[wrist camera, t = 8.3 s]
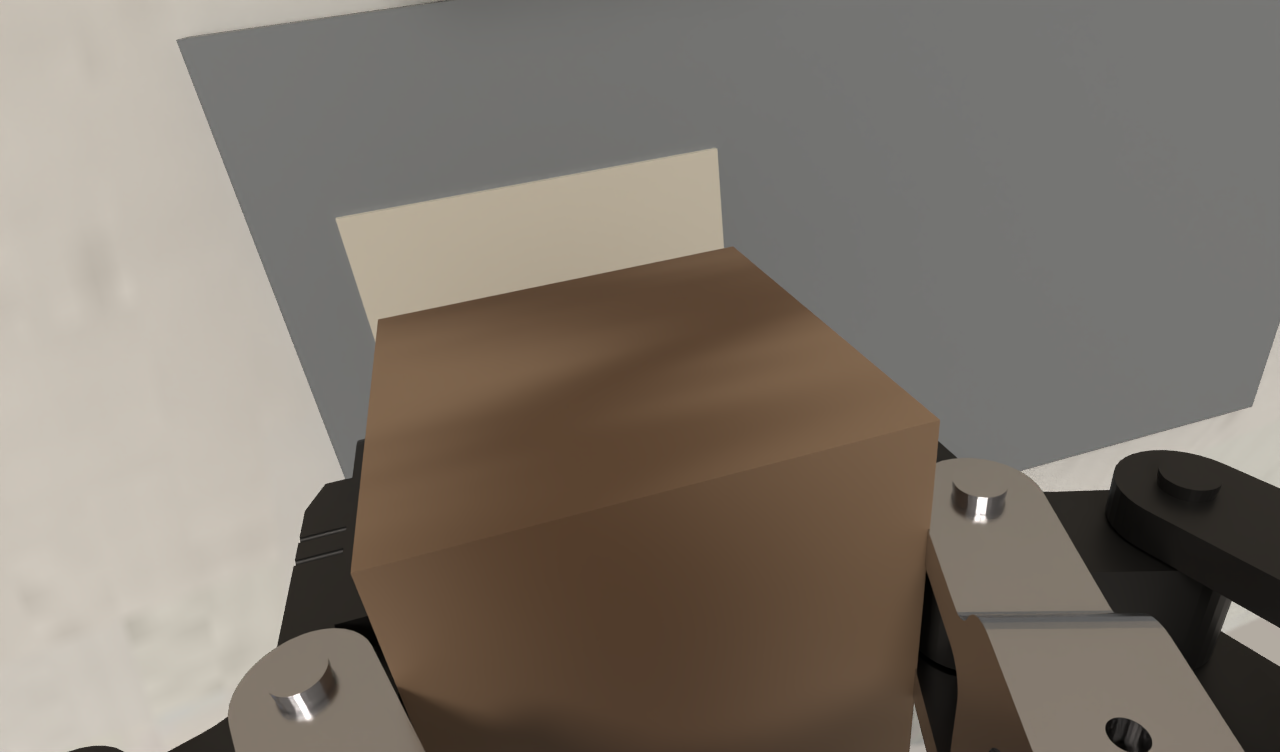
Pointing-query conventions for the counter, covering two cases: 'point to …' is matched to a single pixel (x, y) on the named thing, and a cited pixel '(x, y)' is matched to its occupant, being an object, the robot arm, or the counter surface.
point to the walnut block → (644, 520)
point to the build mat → (792, 185)
